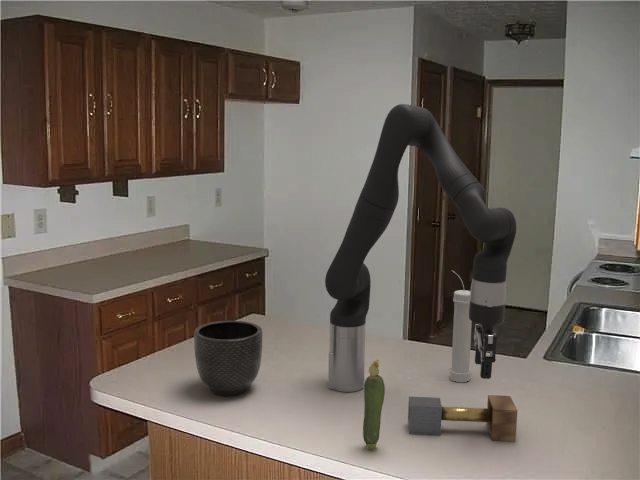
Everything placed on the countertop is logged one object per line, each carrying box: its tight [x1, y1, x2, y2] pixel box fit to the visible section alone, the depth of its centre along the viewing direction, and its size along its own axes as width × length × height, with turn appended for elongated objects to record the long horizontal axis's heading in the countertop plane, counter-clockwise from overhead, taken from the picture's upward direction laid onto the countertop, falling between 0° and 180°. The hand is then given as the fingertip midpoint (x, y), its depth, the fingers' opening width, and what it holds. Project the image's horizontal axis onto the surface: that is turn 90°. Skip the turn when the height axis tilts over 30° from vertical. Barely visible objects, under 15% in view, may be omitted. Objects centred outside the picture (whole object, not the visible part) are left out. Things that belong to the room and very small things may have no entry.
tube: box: [441, 406, 493, 423], centre depth 152 cm, size 17×4×4 cm, turn 85°
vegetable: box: [362, 359, 386, 450], centre depth 143 cm, size 4×4×20 cm
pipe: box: [449, 270, 473, 383], centre depth 182 cm, size 6×6×30 cm
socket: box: [485, 394, 518, 443], centre depth 152 cm, size 5×8×7 cm, turn 175°
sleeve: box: [407, 396, 443, 436], centre depth 153 cm, size 7×5×7 cm
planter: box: [193, 320, 263, 397], centre depth 174 cm, size 17×17×16 cm
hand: (482, 370), depth 150 cm, fingers open, 8 cm apart
